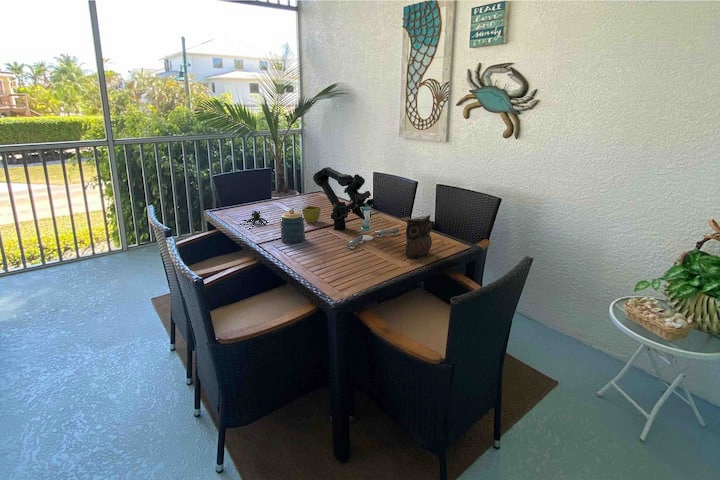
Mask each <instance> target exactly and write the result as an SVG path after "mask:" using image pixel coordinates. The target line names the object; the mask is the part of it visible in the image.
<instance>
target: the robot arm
mask: <svg viewBox="0 0 720 480" xmlns="http://www.w3.org/2000/svg"><path fill="white" fill-rule="evenodd" d="M330 178H331V179H332V180H335V181H337V183H338V185H339V186H341V187H345V188H344V190H343V193H344V194H347V195H348V197H349V201H350V203H348V204H347V205H346V202H345V201H340V199H339V198H338V196H337V195H336V193H335V190H333V188H332V186H331V185H330V183H329V181H330ZM312 179H313V182H314V183H315V185H316V186H318V187H320V188H321V189H322V191H323V193H325V196H326V197H327V199H328V201H329V202H330V204H331V206H332V213H331V214H330V219H331V220H333V230H334V231H335V230H336V231H339V230H340V231H344V230H345V229H346V227H347V223H346V221H347V218H348V216H349V213H351V214H354V215H355V216H358V217H359V218H360V219H361V220H362V219H363V220H364V219H365V217H364V215H363V213H362V209H361V206H363V205H369V206H371V208H372V207H373V206H375V203H377V201H376V199H375V198H372V197H371V196H372V194H371V192H370V191H369V190H366V191H364V192H359V191H360V189H362V187H363V186H364V185H365V184H366V183H365V182H366V179H365V178H364V177H363V176H361V175H360V174H358V173H356V174H354V176H353V175H351V174H347V173H344V174H343V173H341V172H339V171H337V170H335V169H334V168H331V167H329V166H327V167H323V168H322V169H321V170H319V171H316V173H314V175H313V176H312ZM371 218H372V211H371V210H370V219H371Z"/></svg>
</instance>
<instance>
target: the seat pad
mask: <svg viewBox="0 0 720 480" xmlns="http://www.w3.org/2000/svg"><path fill="white" fill-rule="evenodd" d="M362 236H363V239H362V241H371V240H373V239H374V236H372V235H367V234H364V235H362Z"/></svg>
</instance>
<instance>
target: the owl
mask: <svg viewBox="0 0 720 480" xmlns="http://www.w3.org/2000/svg"><path fill="white" fill-rule="evenodd" d="M432 229H433V225H432V221H431V215H424V216H416V217H411V218H408V219H407V220H406V228H405V236H406V237H405V238H406V239H405V240H406V243H405V255H406V258H407V259H410V260H411V259H412V260H417V259H423V258H427V257H428V255H429V254H430V251H431V248H432V244H433V241H432V237H431V235H430V234H431V232H432Z"/></svg>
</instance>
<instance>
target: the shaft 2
mask: <svg viewBox="0 0 720 480" xmlns="http://www.w3.org/2000/svg"><path fill="white" fill-rule="evenodd" d="M373 233H374V236H376V237H377V238H383V235H388V234H390V235H392V236H397V235H398V233H399V228H397V227H396V228H391V229H383V230H375V231H374V232H373Z"/></svg>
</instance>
